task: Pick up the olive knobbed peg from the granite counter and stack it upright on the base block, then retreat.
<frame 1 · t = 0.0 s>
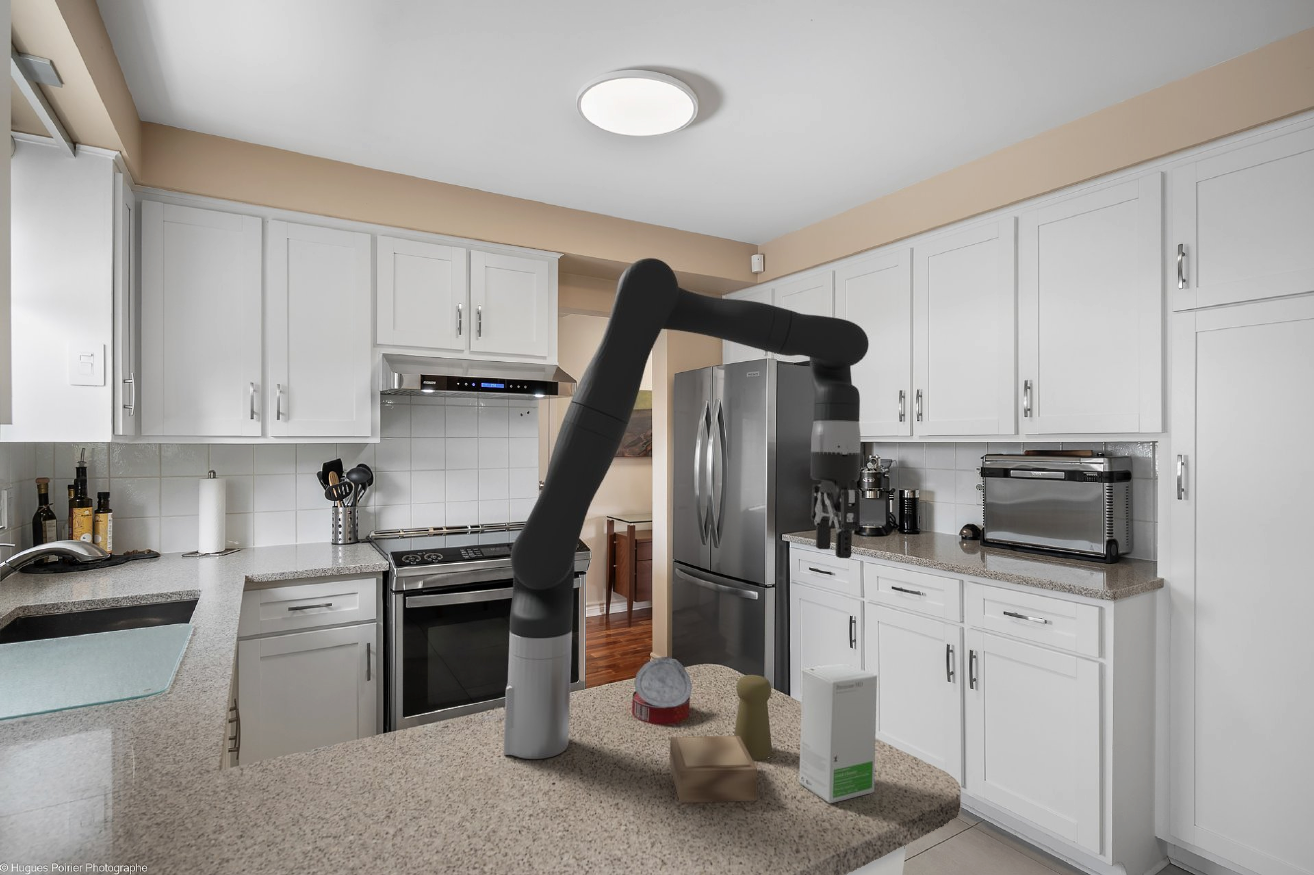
hand: (832, 553, 105), 29 cm above the counter, fingers open, 8 cm apart
canned food: (660, 715, 114), on the counter
base: (711, 782, 90), on the counter
olive knobbed peg: (751, 752, 100), on the counter
skincare box: (835, 788, 90), on the counter
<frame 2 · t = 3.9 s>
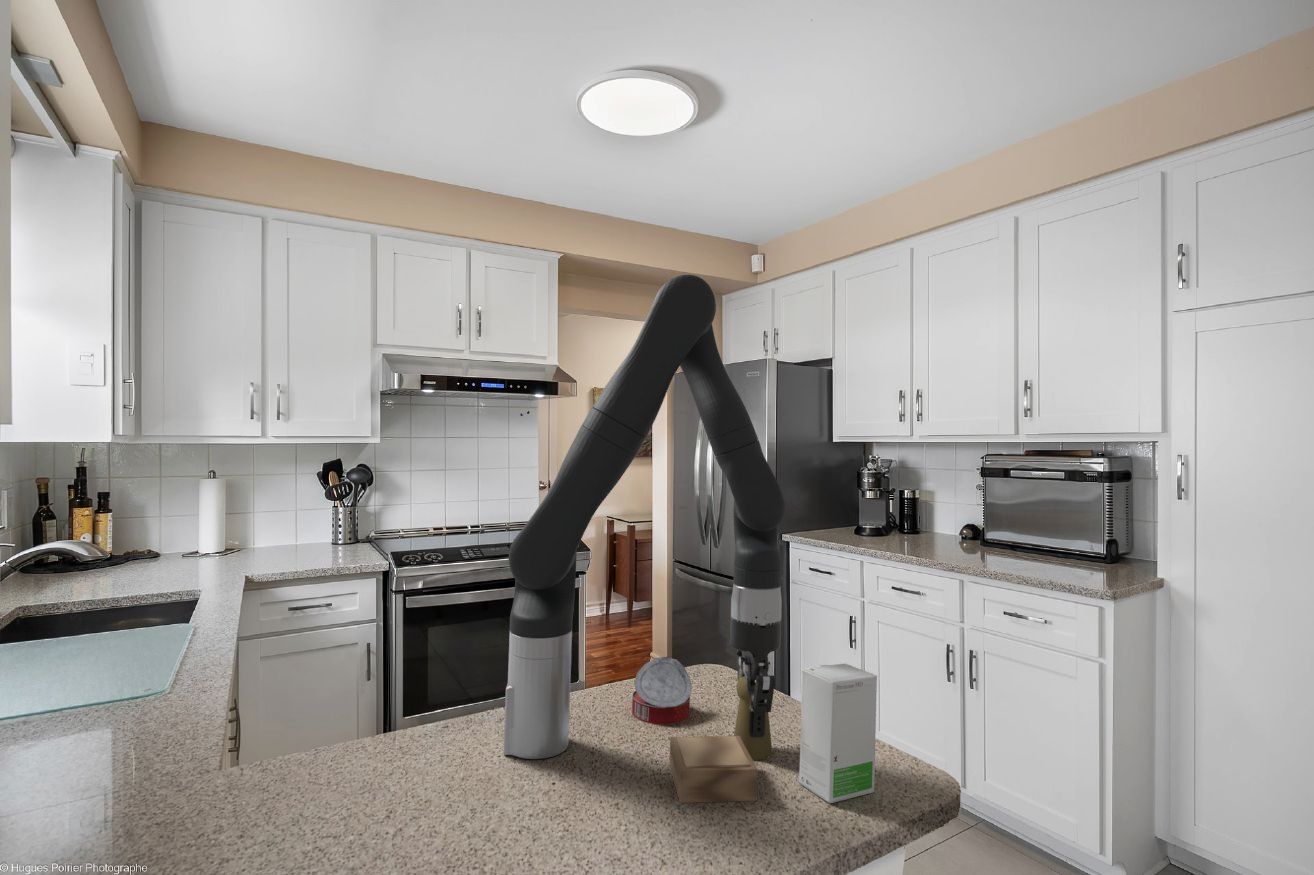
hand: (752, 729, 100), 3 cm above the counter, fingers closed on olive knobbed peg, 4 cm apart
olive knobbed peg: (751, 752, 100), on the counter, touching gripper
everything else where it was.
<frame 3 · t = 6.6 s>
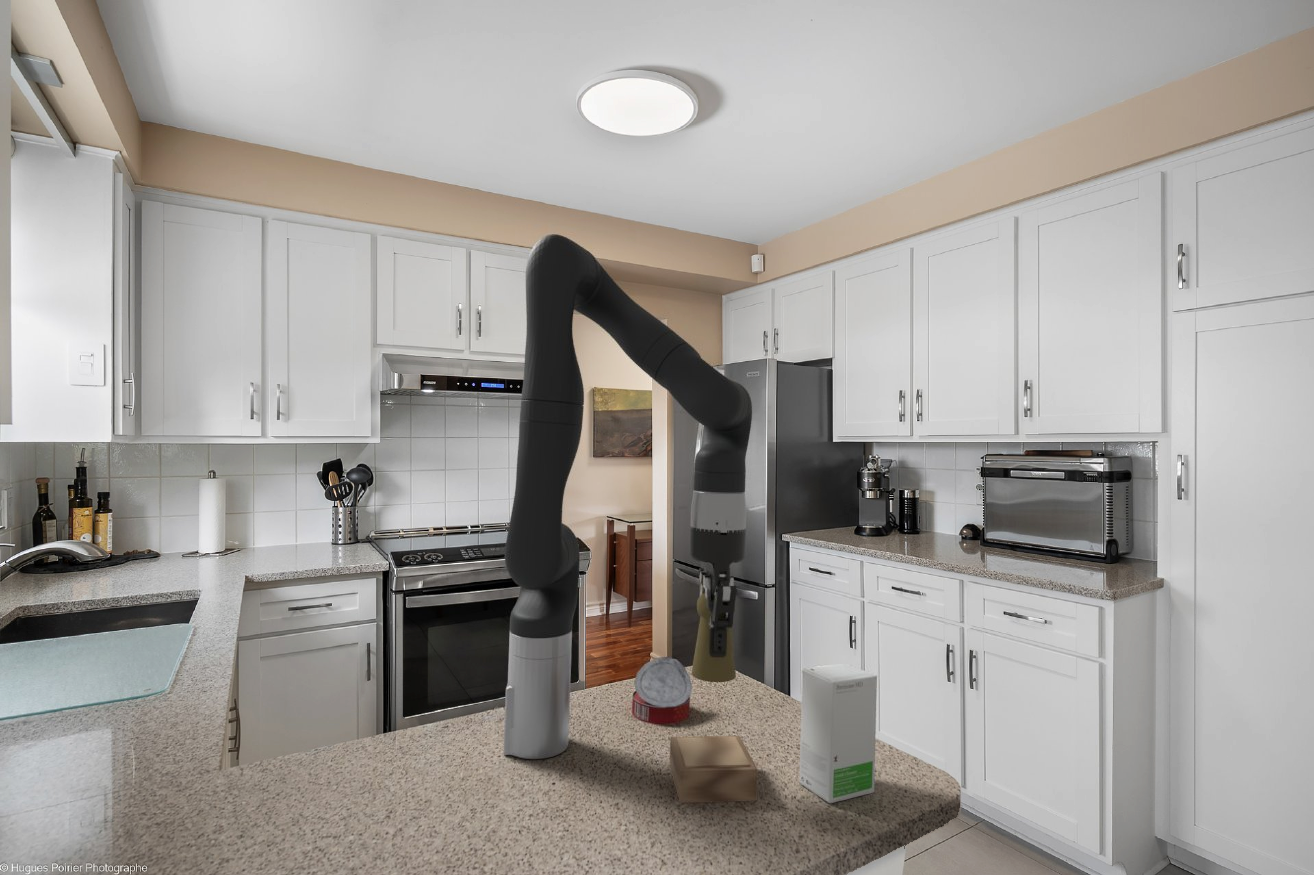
hand: (714, 650, 91), 18 cm above the counter, fingers closed on olive knobbed peg, 4 cm apart
olive knobbed peg: (713, 675, 91), point 14 cm above the counter, touching gripper
everything else where it was.
when the fingers open (8 cm above the counter, at t = 9.2 s): olive knobbed peg moves 1 cm, resting on base.
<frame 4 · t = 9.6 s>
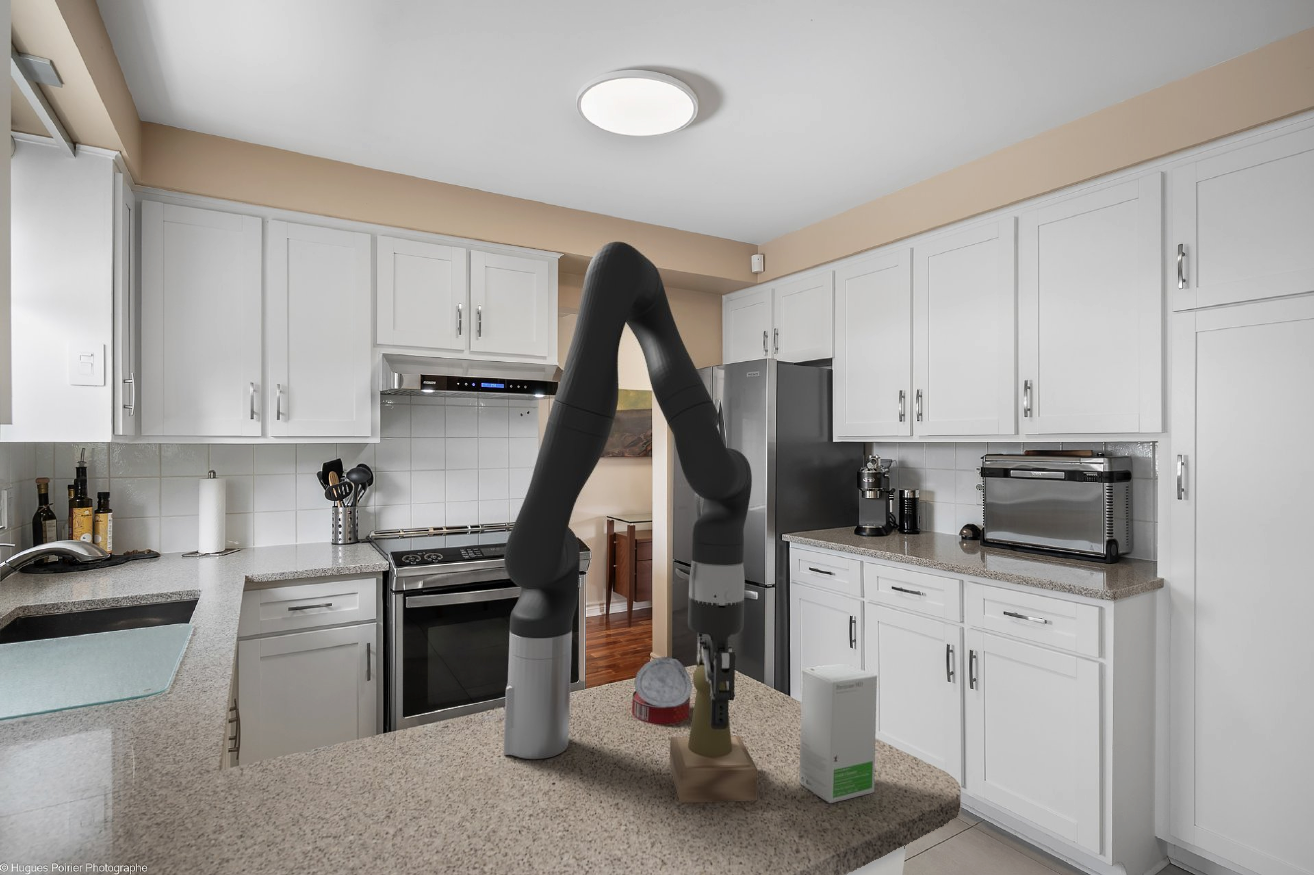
hand: (712, 715, 90), 9 cm above the counter, fingers open, 8 cm apart
olive knobbed peg: (709, 748, 91), point 4 cm above the counter, touching base
everything else where it was.
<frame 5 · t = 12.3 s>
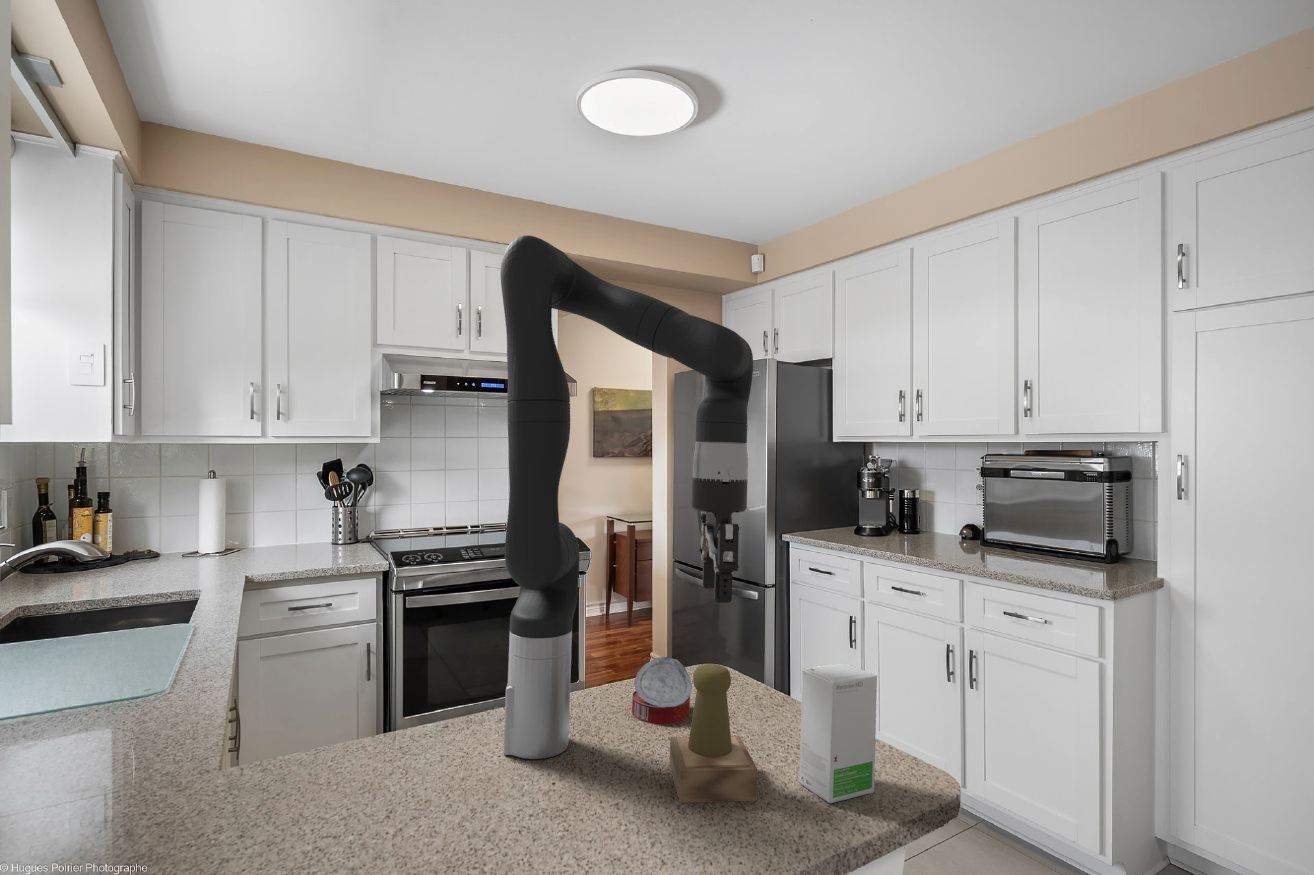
hand: (716, 594, 91), 25 cm above the counter, fingers open, 8 cm apart
nothing on the counter moved.
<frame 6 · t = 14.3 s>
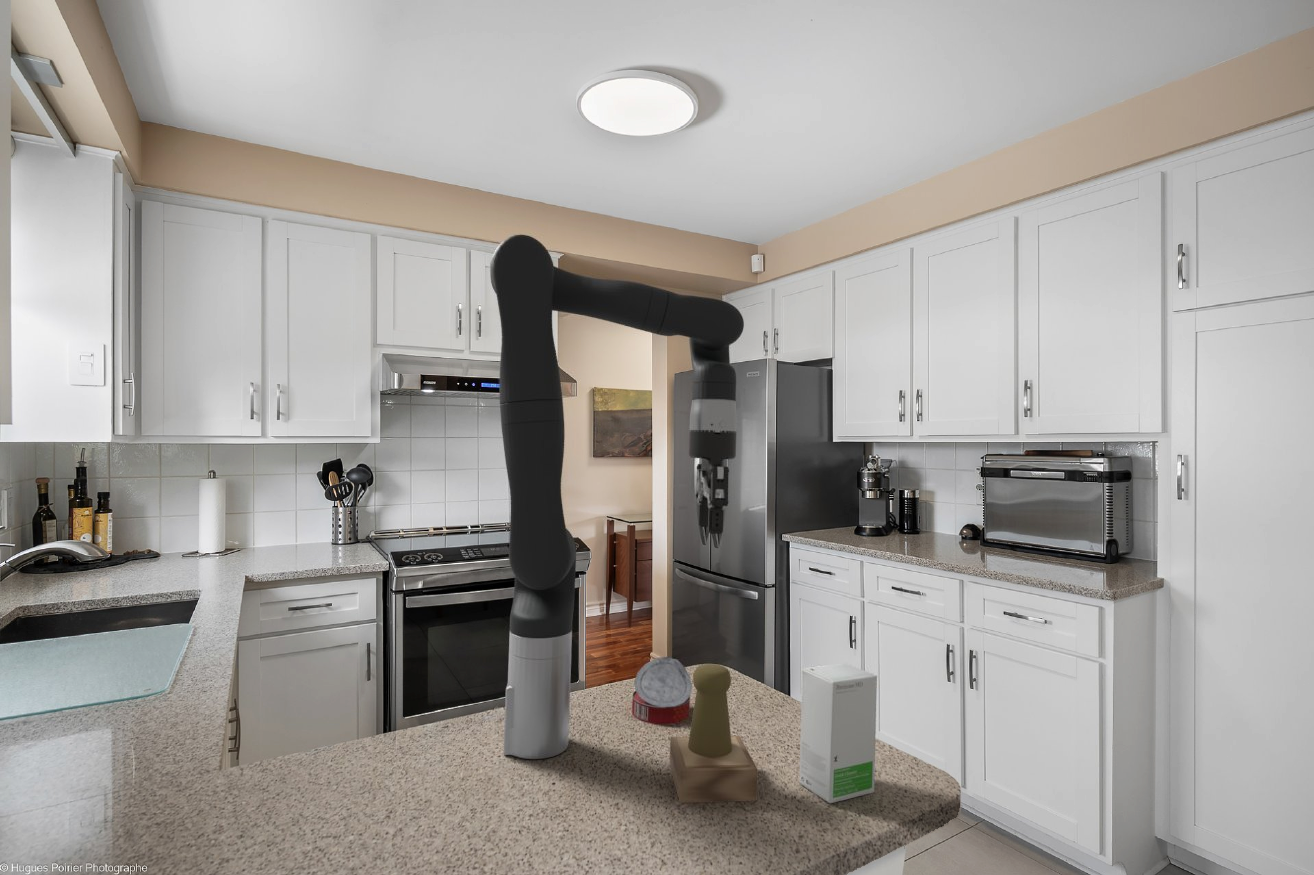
hand: (710, 530, 107), 32 cm above the counter, fingers open, 8 cm apart
nothing on the counter moved.
at the end: olive knobbed peg inside the target area on the base (1.1 cm from its centre), point 4.1 cm above the base's base; olive knobbed peg tilted 0°; the gripper is holding nothing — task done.
